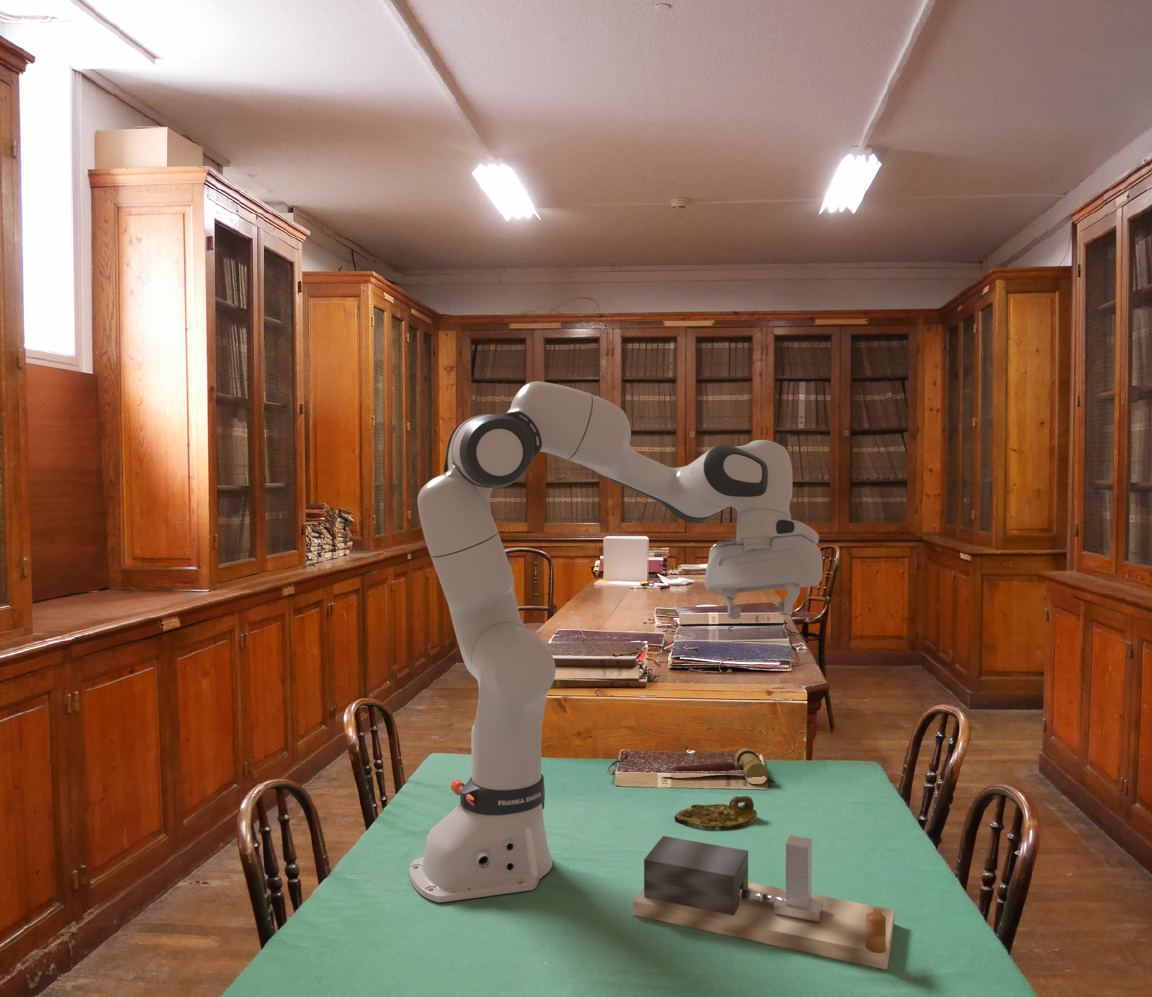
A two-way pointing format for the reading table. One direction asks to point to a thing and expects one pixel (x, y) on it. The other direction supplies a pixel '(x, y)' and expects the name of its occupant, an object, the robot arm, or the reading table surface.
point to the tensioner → (753, 905)
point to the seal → (719, 815)
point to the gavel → (733, 765)
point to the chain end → (793, 884)
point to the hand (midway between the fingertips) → (759, 616)
